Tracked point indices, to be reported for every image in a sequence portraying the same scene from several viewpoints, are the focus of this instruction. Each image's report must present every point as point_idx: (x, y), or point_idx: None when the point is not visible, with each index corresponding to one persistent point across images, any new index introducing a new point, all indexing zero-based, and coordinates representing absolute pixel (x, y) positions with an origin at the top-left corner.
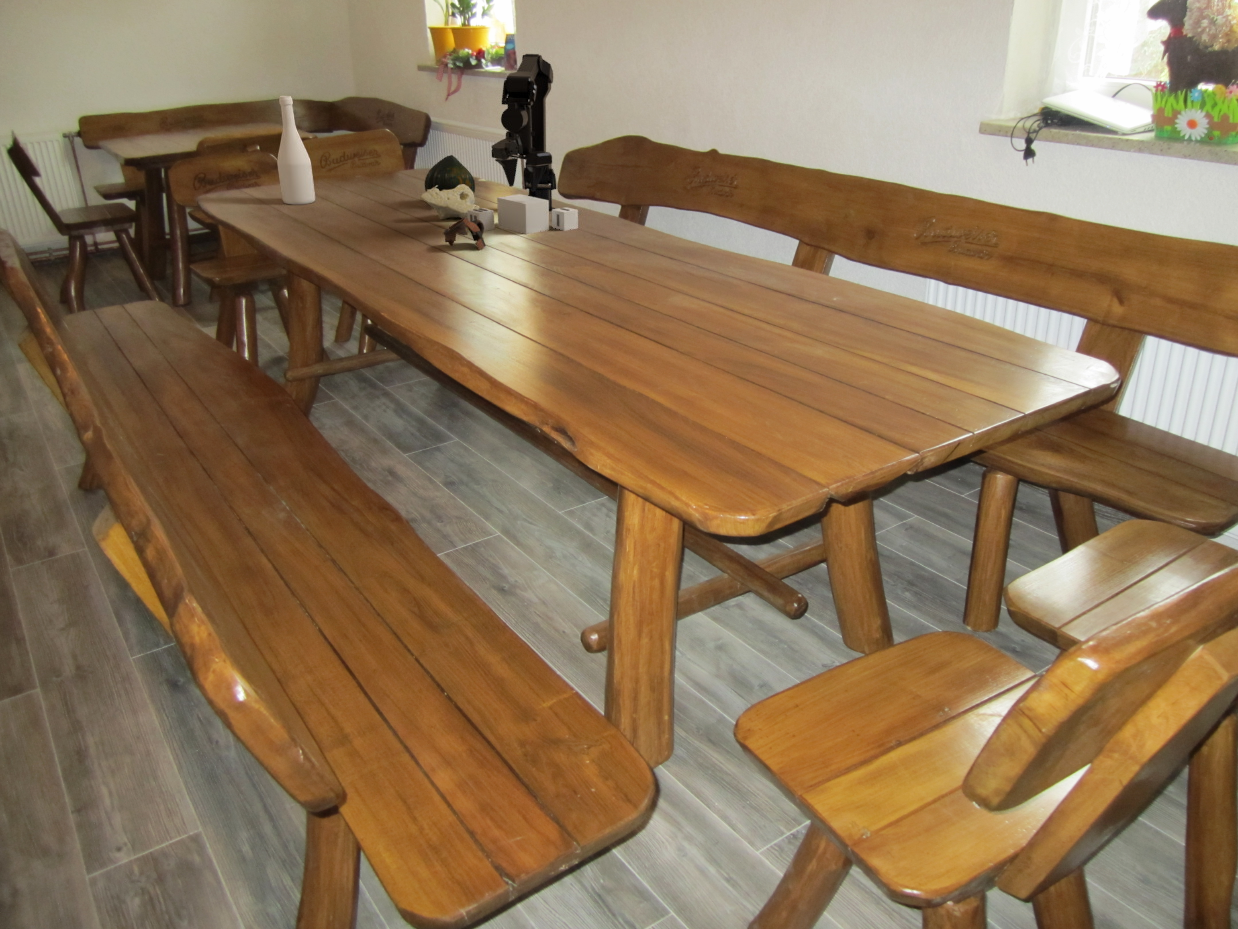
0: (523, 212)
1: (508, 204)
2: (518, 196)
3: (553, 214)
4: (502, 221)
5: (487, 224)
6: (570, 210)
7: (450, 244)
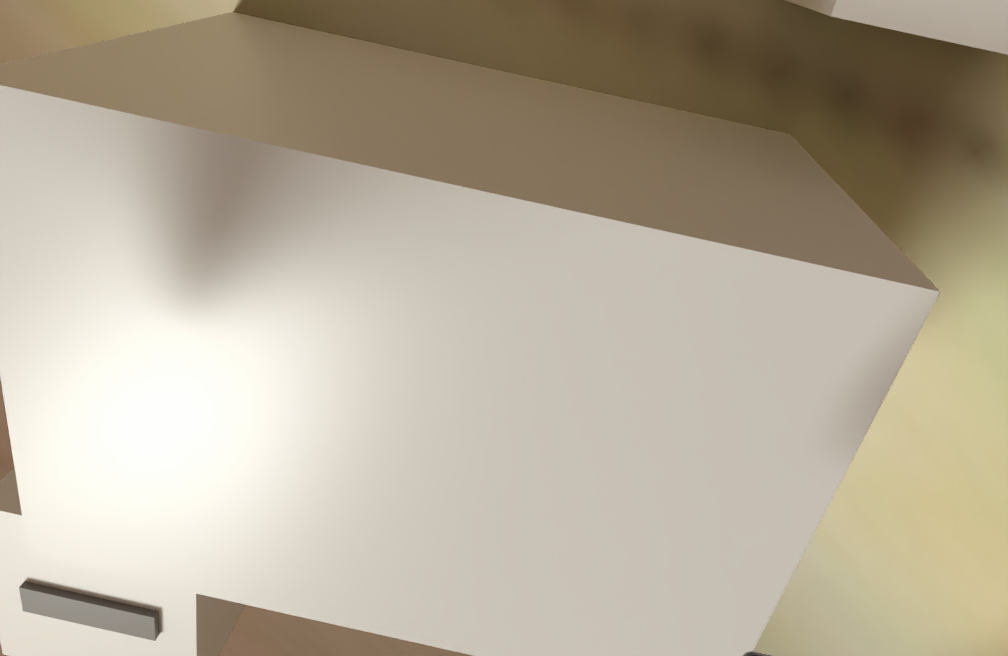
0: (138, 61)
1: (550, 176)
2: (615, 569)
3: None
4: (711, 134)
5: None
6: (24, 604)
7: None
